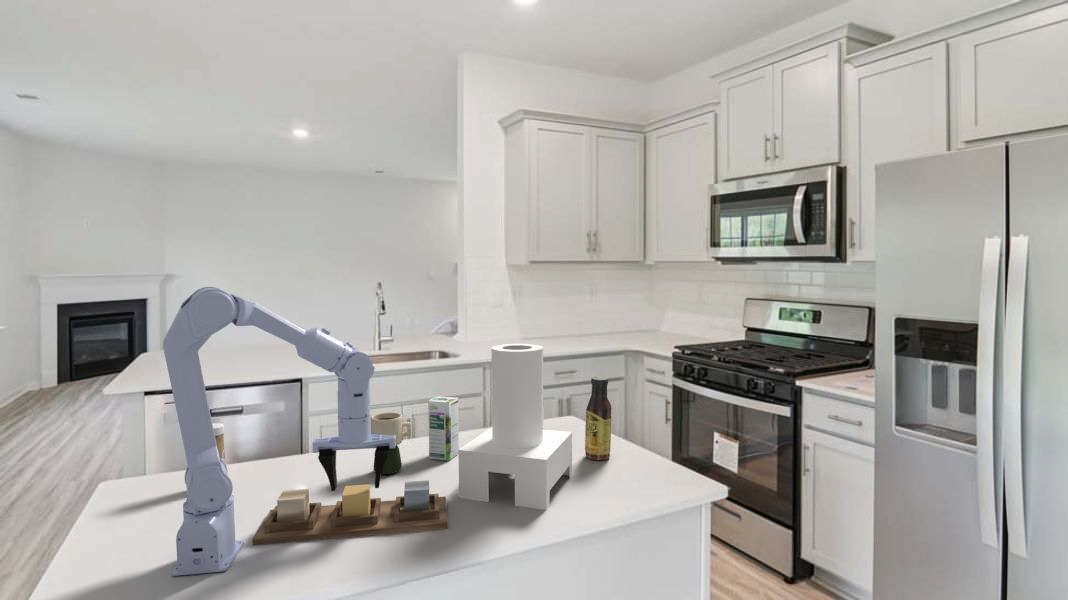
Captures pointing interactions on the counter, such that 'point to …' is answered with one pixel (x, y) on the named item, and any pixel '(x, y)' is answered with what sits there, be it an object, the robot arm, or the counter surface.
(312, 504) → the puzzle board
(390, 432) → the character mug
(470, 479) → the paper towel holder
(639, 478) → the counter surface
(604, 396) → the sauce bottle
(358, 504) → the ochre block
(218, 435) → the sprinkles bottle
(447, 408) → the syrup box
